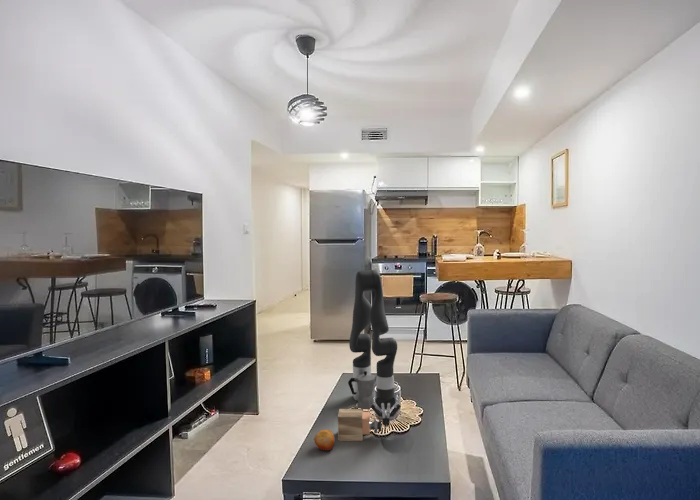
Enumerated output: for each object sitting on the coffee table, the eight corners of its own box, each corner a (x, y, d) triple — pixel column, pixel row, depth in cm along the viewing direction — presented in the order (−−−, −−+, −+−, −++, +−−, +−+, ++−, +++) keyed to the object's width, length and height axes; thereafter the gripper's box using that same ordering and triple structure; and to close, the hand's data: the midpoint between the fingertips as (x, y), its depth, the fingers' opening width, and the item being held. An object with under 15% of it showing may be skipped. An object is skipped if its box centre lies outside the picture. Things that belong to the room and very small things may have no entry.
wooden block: (339, 431, 187) (339, 408, 187) (363, 431, 187) (362, 408, 186) (338, 440, 179) (337, 417, 179) (362, 440, 179) (362, 417, 178)
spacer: (362, 426, 186) (362, 411, 186) (369, 426, 186) (369, 411, 185) (362, 434, 179) (362, 419, 179) (369, 434, 179) (369, 419, 179)
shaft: (339, 428, 186) (339, 416, 186) (381, 429, 185) (381, 416, 185) (338, 435, 180) (338, 422, 180) (381, 435, 180) (381, 422, 179)
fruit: (338, 438, 178) (335, 427, 174) (333, 457, 172) (330, 445, 168) (320, 436, 180) (316, 425, 176) (314, 454, 174) (310, 443, 170)
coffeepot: (375, 401, 218) (374, 366, 216) (382, 409, 209) (381, 372, 207) (346, 406, 213) (345, 370, 212) (351, 414, 204) (351, 376, 203)
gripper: (400, 382, 185) (401, 421, 186) (369, 382, 185) (370, 421, 186) (401, 388, 177) (402, 430, 178) (369, 388, 178) (370, 430, 179)
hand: (386, 425), depth 182 cm, fingers closed
